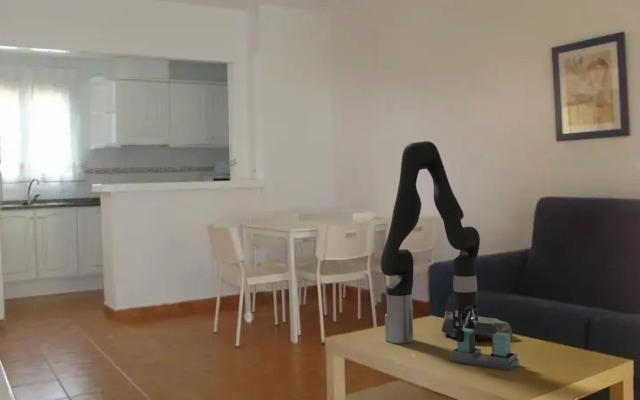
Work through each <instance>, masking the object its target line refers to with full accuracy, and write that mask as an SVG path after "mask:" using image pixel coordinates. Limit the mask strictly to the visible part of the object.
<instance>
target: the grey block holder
mask: <svg viewBox="0 0 640 400" xmlns="http://www.w3.org/2000/svg"><path fill="white" fill-rule="evenodd" d="M491 346H492V347H491V348H492V349H491V351H492V352H491V353H489V354H488V353H482V349H481V348H479V347H478V348H477V347H475V351H474V352H472V353H466V352H458V349H457V347H456V348H454V349H452V350H451V354H450V355H449V361H450V363H458V364H465V365H471V366H478V367H484V368H491V369H497V370H504V371H512V370H514V369H515V368H517V367H518V366H520V364H519V363H520V360H519V358H518V353H516V352H515V353H514V352H511V351H512V350H511V337H510V333H501V332H497V333H495V334H494V335H493V337H492V338H491Z"/></svg>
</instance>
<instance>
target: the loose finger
mask: <svg viewBox="0 0 640 400" xmlns="http://www.w3.org/2000/svg"><path fill="white" fill-rule="evenodd" d="M456 342H457V343H456V344H457V347H456V348H457V349H458V352H466V353H472V352H474V351H475V348H476V336H475V333H474V329H467V328H464V342H458V341H457V340H456Z"/></svg>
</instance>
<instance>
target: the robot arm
mask: <svg viewBox="0 0 640 400" xmlns="http://www.w3.org/2000/svg"><path fill="white" fill-rule="evenodd" d="M421 170H427V171H428V173H429V174H430V176H431V179H432V183H433V201H434V205H435V208H436V210H437V212H438V214H439V216H440V217H441V220H442V222H443V225H444V230H445V234H446V239H447V241H448V243H449V244H450V246H451V248H453V249H455V250H456V251H457V250H458V251H459V254H458V256H456V257H455V258H454V260H453V280H452V286H453V289H452V292H453V301H452V302H453V304H454V305H457V309H453V311H452V312H453V329H456V330H457V337H456V342H457V341H458V342H464V327H465V325H466V324H467V323H468V329H474V333H475V325H474V324H476V321H478V316H479V315H478V314H479V312H478V280H477V279H478V278H477V271H476V270H477V263H476V262H477V259H478V255H479V250H480V244H481V238H480V233H479V231H478V230H477V228H476V227H474V226H463V224H462V220H463V219H464V215H465V214H464V211H463V209H462V207H461V206H460V204H459V201H458V200H457V197H456V196H455V193H454V192H453V189H452V187H451V185H450V182H449V181H450V180H449V179H448V176H447V172H446V169H445V166H444V164H443V160H442V158H441V155H440V152H439V149H438V148H437V146H436V144H434V142H432V141H429V140H428V141H427V140H424V141H418V142H417V141H416V142H411V143H409V144H407V145H406V146H405V147H404V149H403V151H402V156H401V162H400V173H399V174H400V175H399V180H398V181H399V182H398V187H397V192H396V198H395V202H394V205H393V210H392V214H391V215H392V217H391V222H390V225H389V226H390V227H389V230H388V235H387V238H386V242H385V244H384V247H383V250H382V254H381V257H380V268H381V269H380V270H381V272H382V273H383V275H385V276H386V277H387V276H388V277H393V276H394V277H395V276H397V278H396V279H395V281H392V282H391V283H390V284H388V285H386V288H385V290H386V314H385V315H384V327H385V328H384V329H385V330H384V331H385V332H384V333H385V334H384V335H385V339H384V340H385V341H387V342H389V343H392V344H408V343H412V342H414V324H413V323H414V319H413V318H414V317H413V315H414V314H413V313H414V312H413V286H414V257H413V254H412V251H410V250H408V249H405V248H404V249H400V248H401V246H402V244H403V242H404V241H405V239H406V238H408V236H409V235H410V234H411V233H412V231H413V230H414V229H415V227H416V226H417V225H418V222H419V219H420V214H421V210H422V201H421V200H422V199H421V197H420V195H419V192H418V190H417V189H418V188H417V182H418V176H419V173H420V171H421ZM456 322H457V323H456Z"/></svg>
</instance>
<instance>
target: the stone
mask: <svg viewBox="0 0 640 400" xmlns="http://www.w3.org/2000/svg"><path fill="white" fill-rule="evenodd" d="M456 323H457V322H456ZM474 325H475V337H477V336H481V337H483V338H491V339H492V337H493V335H494V334H495V333H497V332H501V333H510V339H511V338H513V329H512V327H511V325H510V323H508V322H507V321H503V320H500V319H499V318H496V317H495V318H494V317H485V316H479V315H478V321H476V324H474ZM464 328H467V329H468V323H467V324H466V325H465V327H464ZM441 332H442V333H444V334H446V335H448V336H449V337H450V338H452V339H454V338H456V339H457V330H456V329H453V311H447V310H446V311H445V312H444V316H443V321H442V326H441Z"/></svg>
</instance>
